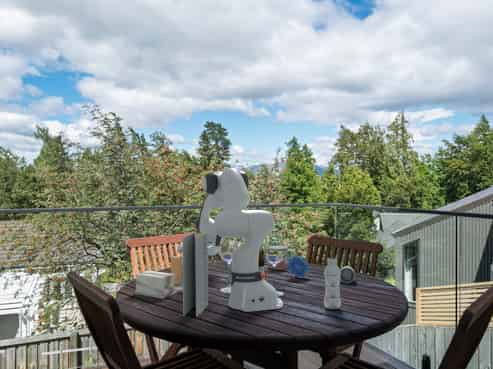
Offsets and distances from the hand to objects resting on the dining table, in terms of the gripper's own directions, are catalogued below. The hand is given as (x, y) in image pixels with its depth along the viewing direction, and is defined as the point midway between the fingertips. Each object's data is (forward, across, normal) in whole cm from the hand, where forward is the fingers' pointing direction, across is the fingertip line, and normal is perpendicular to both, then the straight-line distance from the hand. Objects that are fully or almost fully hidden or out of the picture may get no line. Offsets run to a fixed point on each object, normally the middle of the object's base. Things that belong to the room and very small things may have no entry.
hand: (185, 251), depth 204 cm
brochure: (+32, +31, +17) cm, 48 cm away
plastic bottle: (+4, +77, +18) cm, 79 cm away
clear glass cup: (-55, +25, +16) cm, 62 cm away
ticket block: (+15, -1, +16) cm, 22 cm away
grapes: (-36, +46, +16) cm, 60 cm away
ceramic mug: (-41, +69, +17) cm, 82 cm away
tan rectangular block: (+7, -1, +15) cm, 16 cm away
